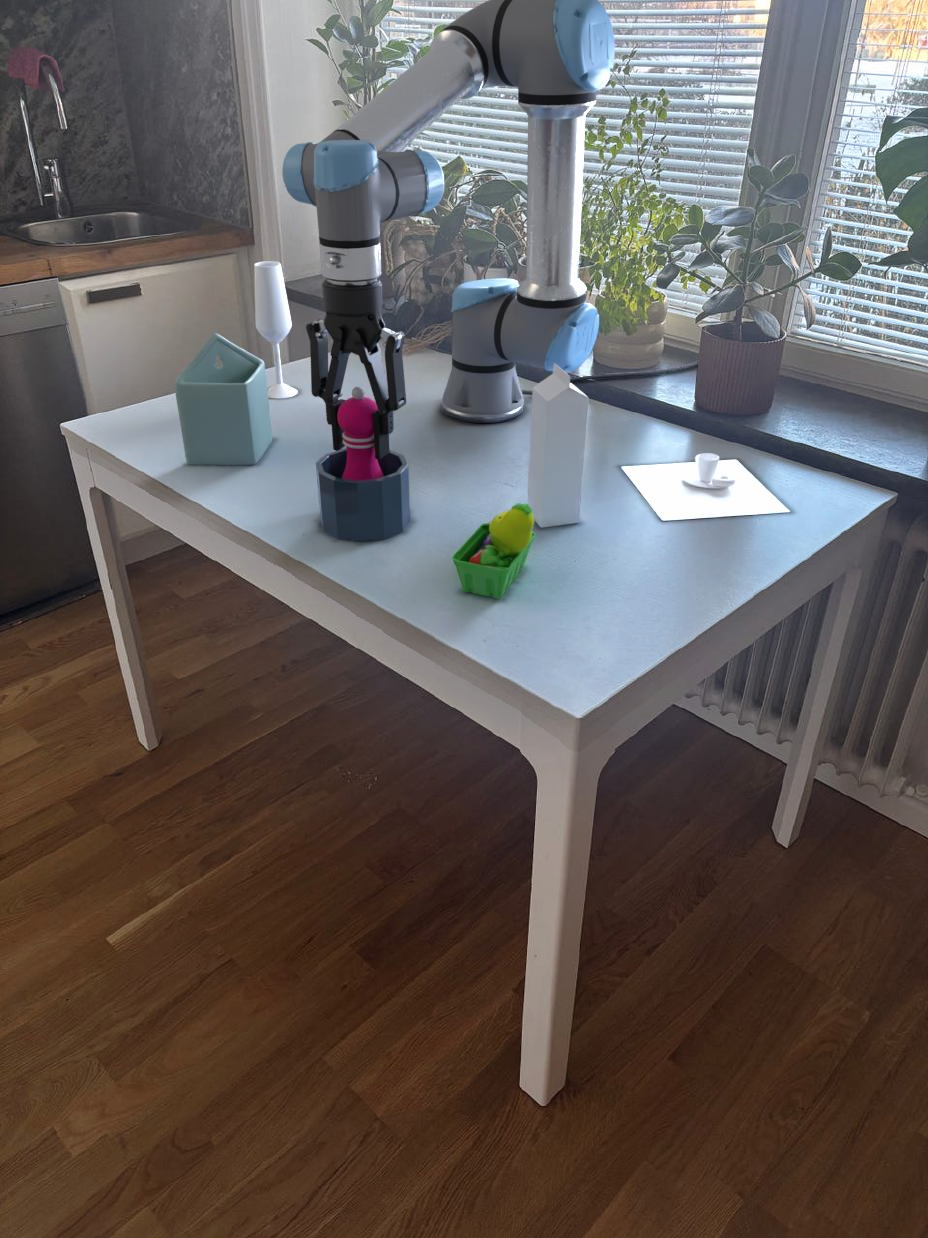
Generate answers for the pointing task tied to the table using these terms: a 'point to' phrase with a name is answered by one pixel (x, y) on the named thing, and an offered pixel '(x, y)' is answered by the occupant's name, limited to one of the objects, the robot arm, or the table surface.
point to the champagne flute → (272, 317)
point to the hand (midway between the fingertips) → (361, 450)
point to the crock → (363, 499)
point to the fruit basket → (496, 552)
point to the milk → (556, 450)
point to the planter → (224, 406)
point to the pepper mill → (359, 436)
